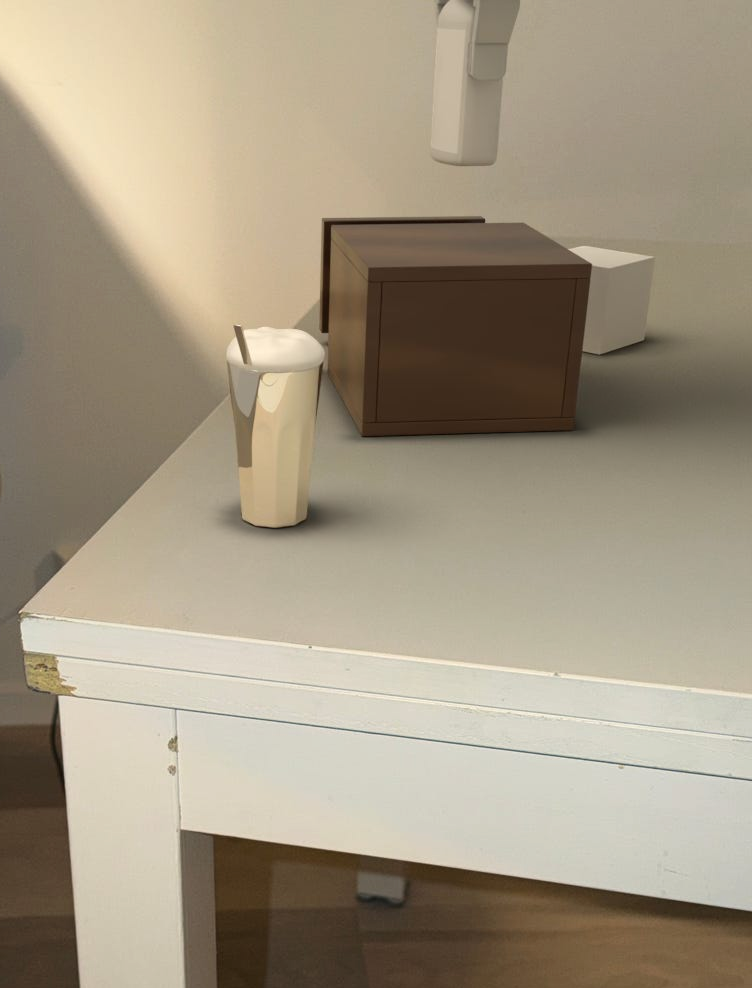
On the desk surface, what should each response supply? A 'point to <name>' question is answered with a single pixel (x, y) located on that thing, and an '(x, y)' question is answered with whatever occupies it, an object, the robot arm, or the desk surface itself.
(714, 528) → the desk surface
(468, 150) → the eye dropper bottle
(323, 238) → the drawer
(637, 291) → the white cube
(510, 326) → the cabinet
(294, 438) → the milkshake
